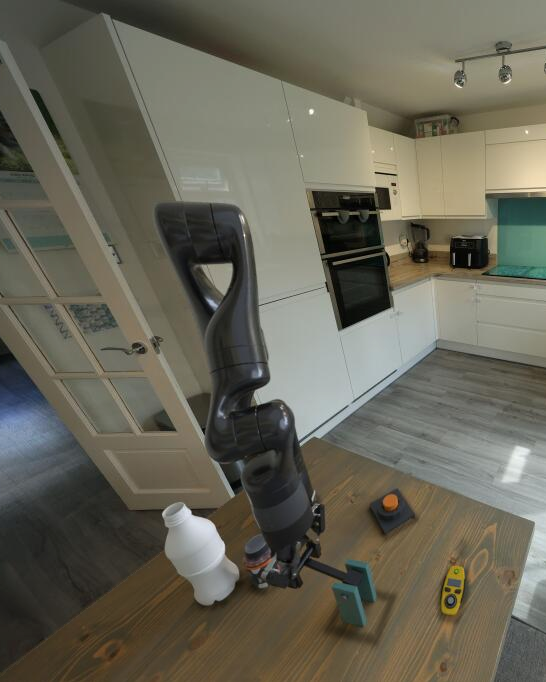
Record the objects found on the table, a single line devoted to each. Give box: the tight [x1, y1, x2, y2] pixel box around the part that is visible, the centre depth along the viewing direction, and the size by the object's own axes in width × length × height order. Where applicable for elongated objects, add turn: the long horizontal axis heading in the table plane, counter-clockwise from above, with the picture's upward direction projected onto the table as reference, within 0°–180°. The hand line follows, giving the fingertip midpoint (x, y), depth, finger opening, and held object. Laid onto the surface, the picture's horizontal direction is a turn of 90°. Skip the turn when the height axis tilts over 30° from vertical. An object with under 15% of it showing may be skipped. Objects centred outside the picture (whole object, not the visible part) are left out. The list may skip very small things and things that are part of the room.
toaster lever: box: [298, 546, 363, 588], centre depth 57 cm, size 12×4×2 cm, turn 80°
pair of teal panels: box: [331, 558, 378, 628], centre depth 59 cm, size 10×7×13 cm
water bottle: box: [161, 501, 240, 606], centre depth 60 cm, size 7×7×25 cm
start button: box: [383, 494, 398, 511], centre depth 79 cm, size 4×4×2 cm
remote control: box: [440, 565, 466, 616], centre depth 67 cm, size 5×2×15 cm
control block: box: [368, 487, 416, 536], centre depth 80 cm, size 10×8×4 cm
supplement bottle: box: [242, 533, 280, 589], centre depth 65 cm, size 6×6×11 cm
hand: (306, 569), depth 59 cm, fingers closed on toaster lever, 4 cm apart
